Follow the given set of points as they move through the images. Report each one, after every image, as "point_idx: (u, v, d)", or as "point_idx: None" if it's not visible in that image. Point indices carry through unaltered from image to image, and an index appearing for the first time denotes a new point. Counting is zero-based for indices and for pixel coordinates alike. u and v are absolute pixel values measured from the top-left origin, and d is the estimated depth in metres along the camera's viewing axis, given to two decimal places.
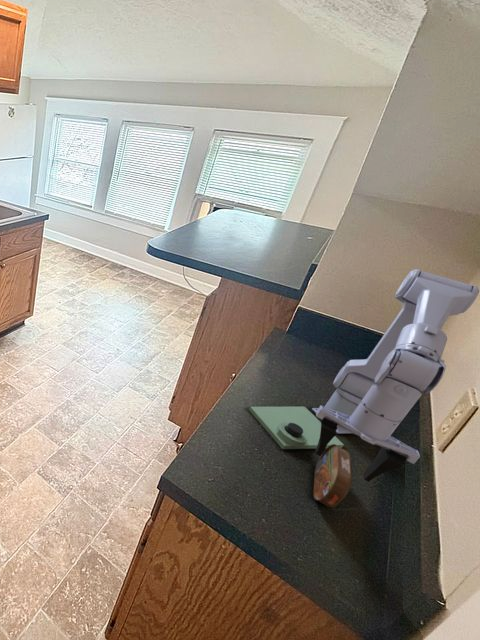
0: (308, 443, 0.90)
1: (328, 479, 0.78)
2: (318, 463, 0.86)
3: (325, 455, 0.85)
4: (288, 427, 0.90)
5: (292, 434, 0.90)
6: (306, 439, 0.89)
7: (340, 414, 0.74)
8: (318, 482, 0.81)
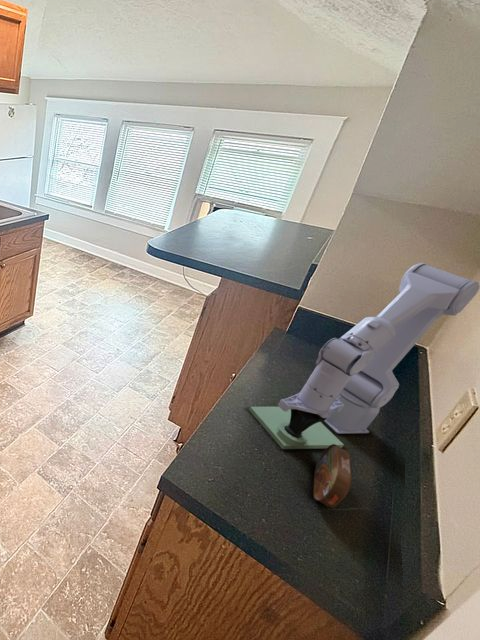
0: (308, 443, 0.90)
1: (328, 479, 0.78)
2: (318, 463, 0.86)
3: (325, 455, 0.85)
4: (287, 429, 0.91)
5: None
6: (306, 439, 0.89)
7: (291, 397, 0.87)
8: (318, 482, 0.81)
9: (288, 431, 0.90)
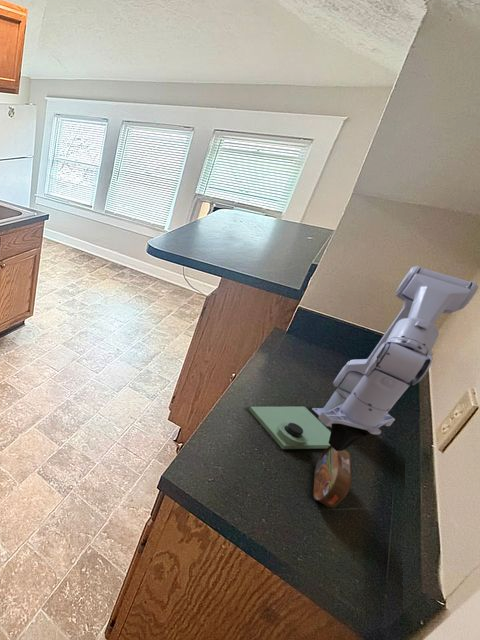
0: (308, 443, 0.90)
1: (328, 479, 0.78)
2: (318, 463, 0.86)
3: (325, 455, 0.85)
4: (288, 427, 0.90)
5: (292, 434, 0.90)
6: (306, 439, 0.89)
7: (334, 410, 0.76)
8: (318, 482, 0.81)
9: (289, 429, 0.90)
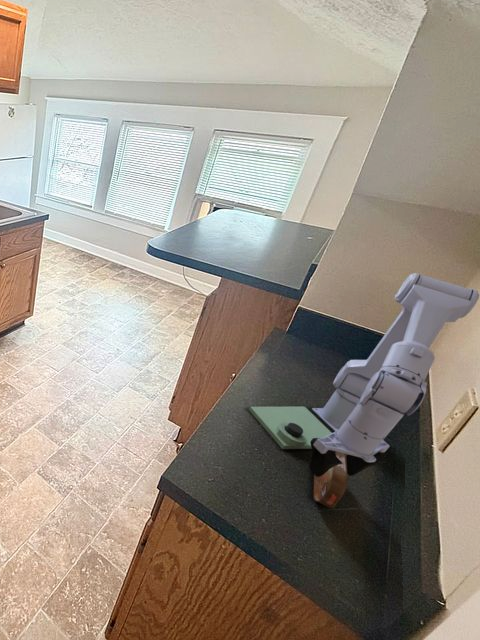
0: (308, 443, 0.90)
1: (326, 479, 0.78)
2: None
3: None
4: (288, 427, 0.90)
5: (292, 434, 0.90)
6: (306, 439, 0.89)
7: (329, 436, 0.76)
8: (318, 482, 0.81)
9: (289, 429, 0.90)
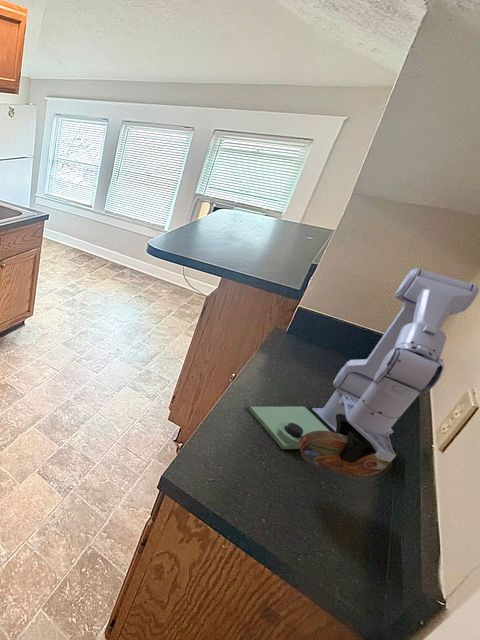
0: None
1: (362, 459, 0.76)
2: (306, 460, 0.79)
3: (306, 451, 0.79)
4: (288, 427, 0.90)
5: (292, 434, 0.90)
6: None
7: None
8: (338, 467, 0.78)
9: (289, 429, 0.90)
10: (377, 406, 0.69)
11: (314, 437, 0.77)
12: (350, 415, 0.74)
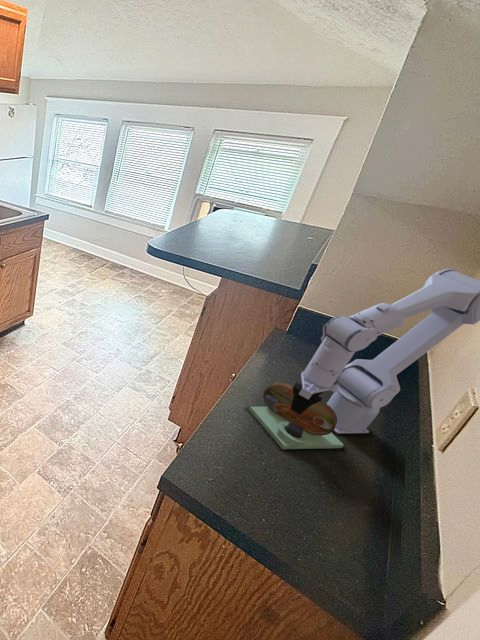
0: (308, 443, 0.90)
1: (311, 414, 0.92)
2: (267, 404, 0.99)
3: (268, 395, 0.99)
4: (288, 427, 0.90)
5: (292, 434, 0.90)
6: (306, 439, 0.89)
7: (304, 381, 0.89)
8: (293, 419, 0.95)
9: (289, 429, 0.90)
10: (316, 358, 0.87)
11: (275, 384, 0.98)
12: None
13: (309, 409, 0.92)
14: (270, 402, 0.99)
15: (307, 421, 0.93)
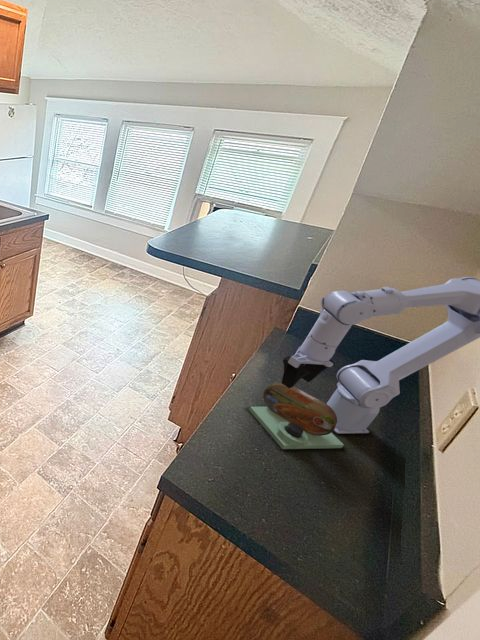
0: (308, 443, 0.90)
1: (311, 414, 0.92)
2: (267, 404, 0.99)
3: (268, 395, 0.99)
4: (288, 427, 0.90)
5: (292, 434, 0.90)
6: (306, 439, 0.89)
7: (297, 353, 0.91)
8: (293, 419, 0.95)
9: (289, 429, 0.90)
10: (311, 331, 0.89)
11: (275, 384, 0.98)
12: None
13: (309, 409, 0.92)
14: (270, 402, 0.99)
15: (307, 421, 0.93)
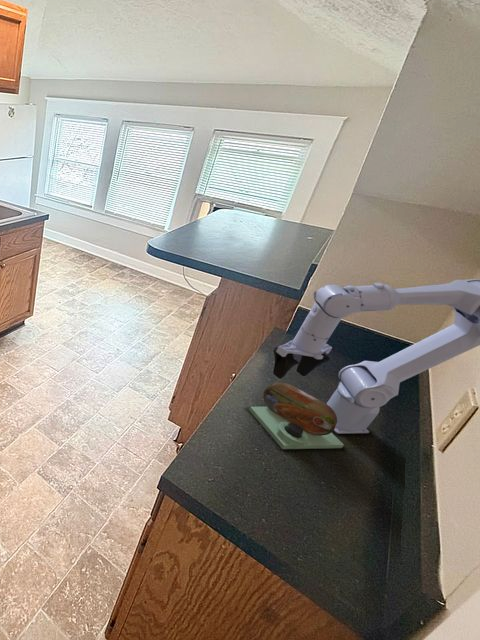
0: (308, 443, 0.90)
1: (311, 414, 0.92)
2: (267, 404, 0.99)
3: (268, 395, 0.99)
4: (288, 427, 0.90)
5: (292, 434, 0.90)
6: (306, 439, 0.89)
7: (287, 344, 0.94)
8: (293, 419, 0.95)
9: (289, 429, 0.90)
10: (303, 323, 0.92)
11: (275, 384, 0.98)
12: None
13: (309, 409, 0.92)
14: (270, 402, 0.99)
15: (307, 421, 0.93)
